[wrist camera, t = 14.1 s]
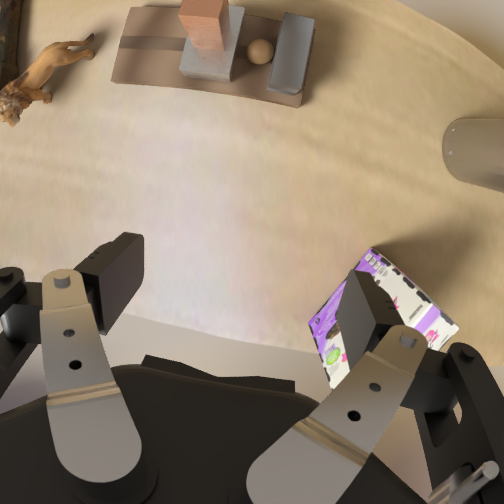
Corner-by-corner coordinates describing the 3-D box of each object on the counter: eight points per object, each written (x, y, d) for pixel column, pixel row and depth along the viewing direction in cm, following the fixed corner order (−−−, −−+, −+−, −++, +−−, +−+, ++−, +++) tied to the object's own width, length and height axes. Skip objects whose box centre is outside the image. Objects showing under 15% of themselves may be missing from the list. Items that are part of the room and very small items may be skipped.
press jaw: (244, 20, 29) (247, -35, 17) (230, 83, 32) (224, 49, 19) (200, 15, 29) (183, -40, 16) (185, 77, 31) (157, 43, 19)
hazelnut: (274, 46, 31) (277, 38, 28) (269, 69, 31) (272, 63, 29) (248, 41, 30) (248, 32, 27) (242, 64, 31) (243, 57, 28)
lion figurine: (38, 132, 34) (-3, 134, 25) (18, 111, 33) (-22, 110, 24) (106, 44, 31) (75, 23, 22) (83, 25, 30) (51, 4, 21)
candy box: (370, 244, 41) (434, 300, 25) (398, 268, 42) (463, 327, 26) (305, 322, 44) (334, 406, 28) (335, 340, 45) (371, 421, 30)
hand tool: (10, 3, 26) (-7, -4, 22) (28, -7, 26) (13, -15, 22) (1, 110, 32) (-18, 109, 28) (20, 102, 32) (0, 101, 28)
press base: (311, 34, 32) (325, 14, 25) (297, 108, 35) (309, 100, 28) (135, 12, 30) (117, -9, 23) (116, 83, 33) (93, 73, 26)
